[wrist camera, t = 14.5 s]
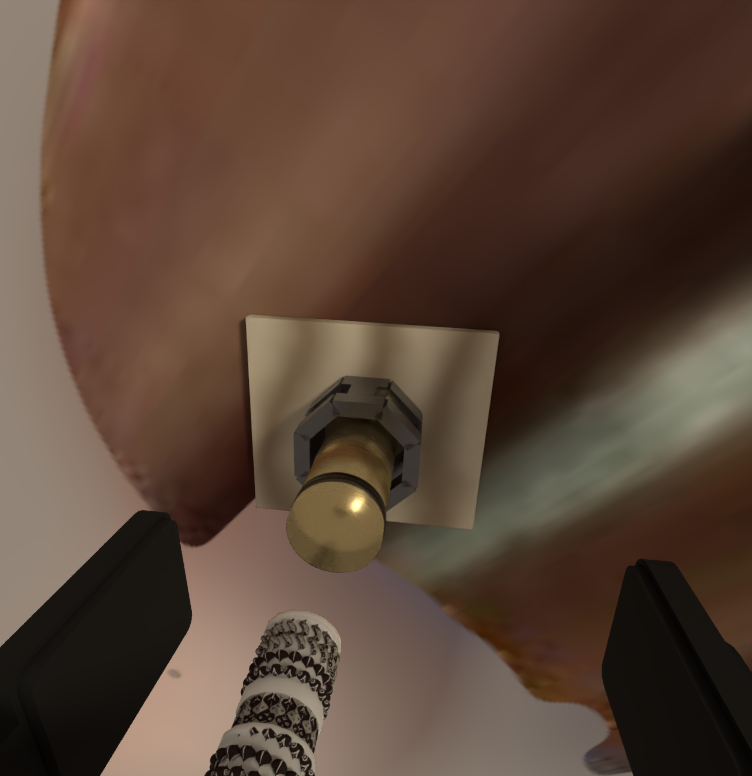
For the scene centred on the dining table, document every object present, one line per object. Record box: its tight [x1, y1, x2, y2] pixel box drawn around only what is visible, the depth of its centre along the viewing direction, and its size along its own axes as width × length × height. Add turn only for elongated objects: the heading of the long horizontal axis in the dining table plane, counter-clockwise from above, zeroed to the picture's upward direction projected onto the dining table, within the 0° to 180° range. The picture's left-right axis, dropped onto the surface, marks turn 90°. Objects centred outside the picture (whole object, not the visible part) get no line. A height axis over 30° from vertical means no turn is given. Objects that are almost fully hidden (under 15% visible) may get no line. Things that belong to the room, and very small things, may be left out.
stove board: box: [246, 315, 499, 530], centre depth 41 cm, size 20×18×1 cm
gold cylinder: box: [286, 416, 398, 573], centre depth 34 cm, size 6×6×14 cm
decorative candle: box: [205, 610, 341, 776], centre depth 39 cm, size 9×9×25 cm
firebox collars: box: [293, 376, 423, 511], centre depth 38 cm, size 9×9×6 cm
